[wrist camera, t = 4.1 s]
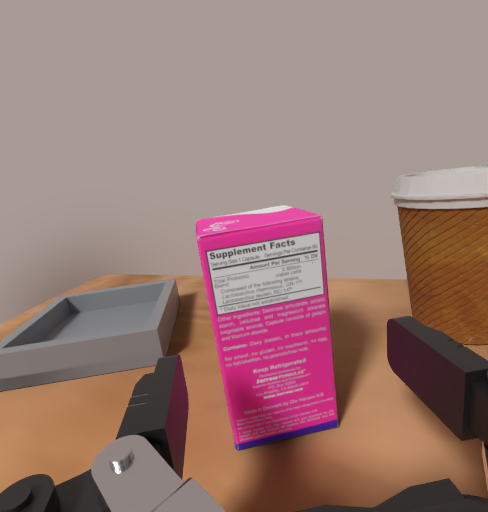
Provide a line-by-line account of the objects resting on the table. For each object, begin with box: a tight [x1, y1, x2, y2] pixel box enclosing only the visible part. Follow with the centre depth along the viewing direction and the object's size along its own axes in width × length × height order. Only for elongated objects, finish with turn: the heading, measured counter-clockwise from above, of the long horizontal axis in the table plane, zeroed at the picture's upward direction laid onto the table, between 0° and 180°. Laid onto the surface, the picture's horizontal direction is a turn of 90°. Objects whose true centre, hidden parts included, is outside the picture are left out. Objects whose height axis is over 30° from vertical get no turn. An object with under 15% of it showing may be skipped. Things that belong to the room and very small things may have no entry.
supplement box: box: [196, 205, 339, 450], centre depth 17 cm, size 6×6×12 cm
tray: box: [0, 279, 180, 391], centre depth 30 cm, size 13×13×3 cm
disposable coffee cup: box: [391, 165, 488, 345], centre depth 23 cm, size 10×10×12 cm
